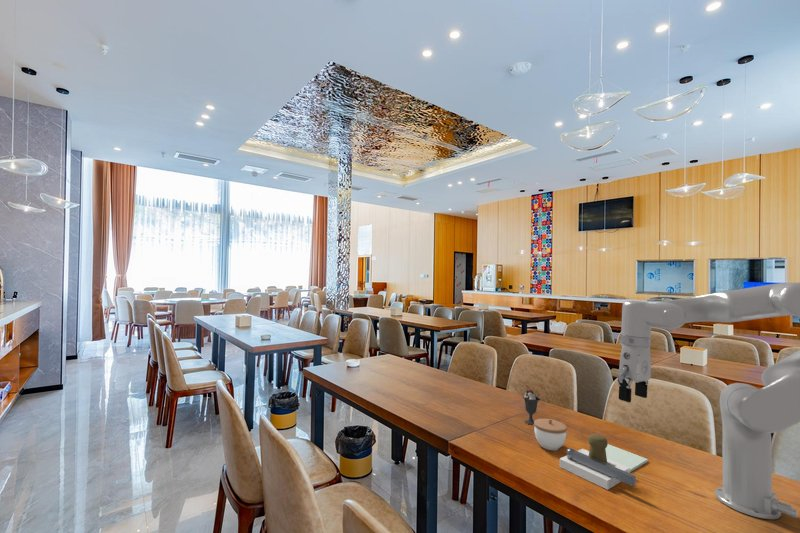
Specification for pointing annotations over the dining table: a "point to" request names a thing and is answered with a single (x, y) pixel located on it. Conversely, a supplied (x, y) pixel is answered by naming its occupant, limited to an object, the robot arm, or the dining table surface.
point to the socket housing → (591, 471)
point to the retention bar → (602, 467)
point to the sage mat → (624, 457)
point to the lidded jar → (550, 433)
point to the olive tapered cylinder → (598, 447)
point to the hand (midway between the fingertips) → (632, 398)
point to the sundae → (530, 404)
